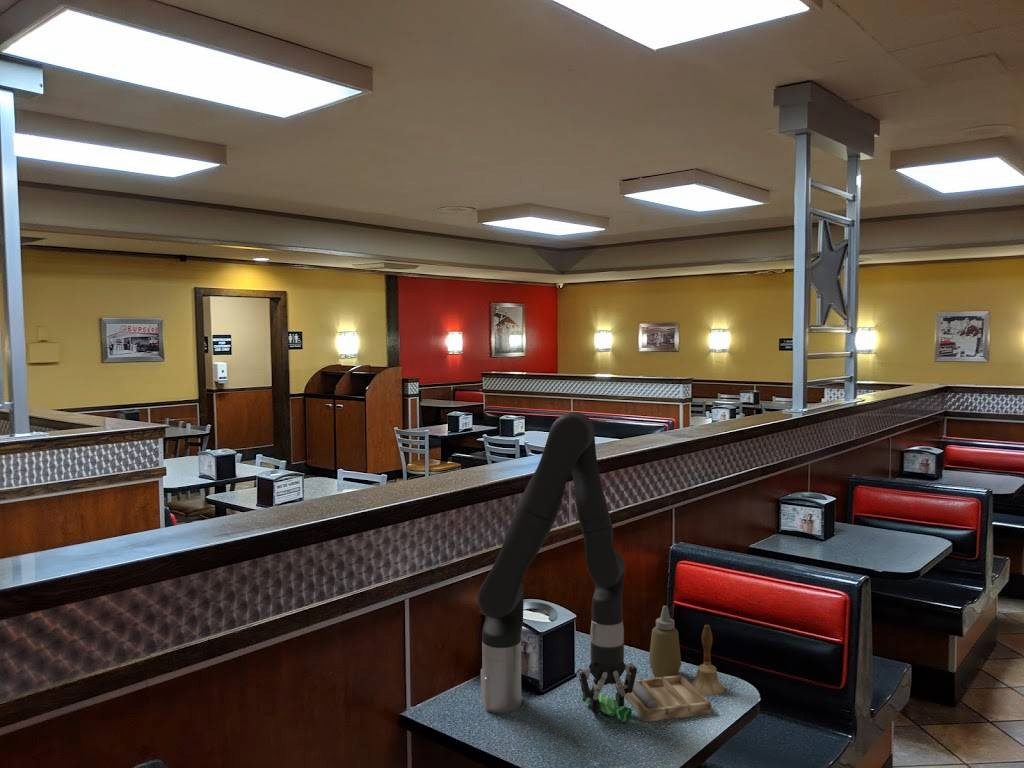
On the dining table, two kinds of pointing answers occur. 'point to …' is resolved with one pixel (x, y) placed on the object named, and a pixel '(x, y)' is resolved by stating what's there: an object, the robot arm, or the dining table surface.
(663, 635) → the squeeze bottle
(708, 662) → the hand bell
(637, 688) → the grey capsule rod
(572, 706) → the dining table surface
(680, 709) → the wooden compartment tray
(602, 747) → the dining table surface
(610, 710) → the candy
